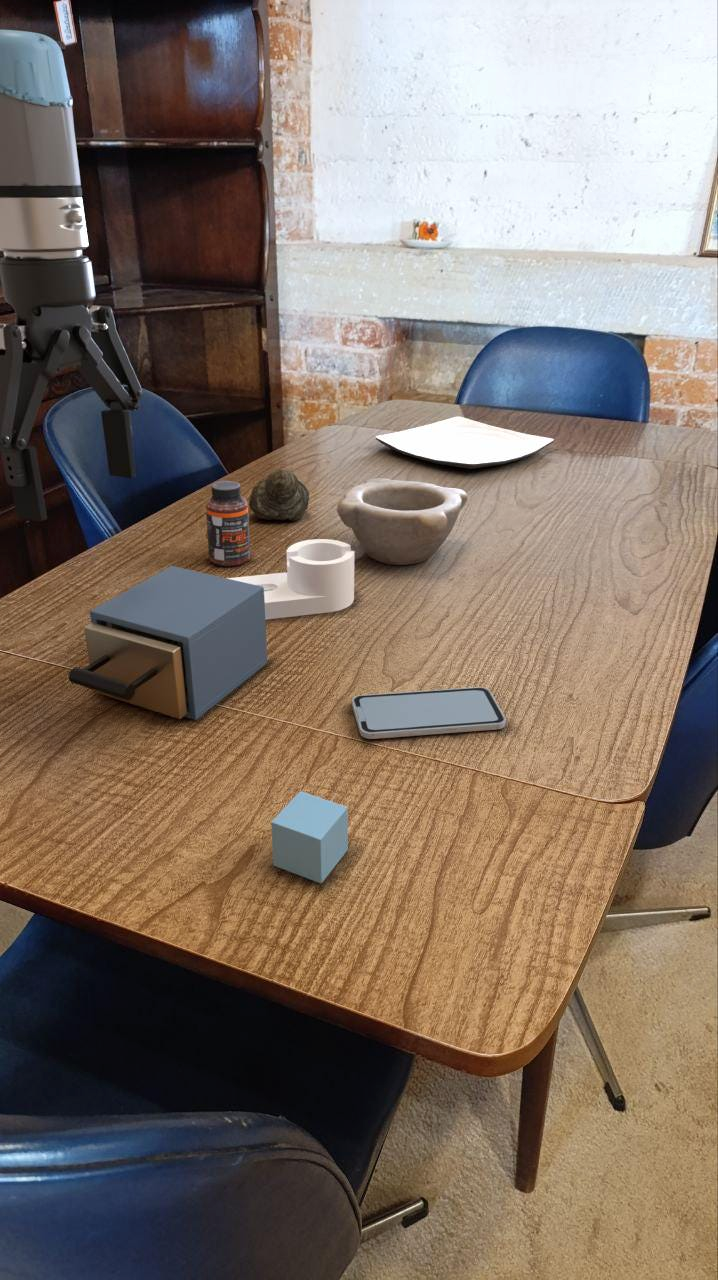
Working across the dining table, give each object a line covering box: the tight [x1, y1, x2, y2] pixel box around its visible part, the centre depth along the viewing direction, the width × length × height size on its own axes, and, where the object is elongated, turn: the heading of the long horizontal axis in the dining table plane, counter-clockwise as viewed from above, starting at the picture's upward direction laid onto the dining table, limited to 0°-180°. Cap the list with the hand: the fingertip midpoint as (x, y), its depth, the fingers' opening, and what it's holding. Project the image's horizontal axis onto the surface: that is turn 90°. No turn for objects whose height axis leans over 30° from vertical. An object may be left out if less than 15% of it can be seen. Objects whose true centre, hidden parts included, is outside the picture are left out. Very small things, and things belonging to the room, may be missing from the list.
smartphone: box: [351, 686, 507, 740], centre depth 90 cm, size 7×1×15 cm
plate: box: [375, 416, 555, 469], centre depth 178 cm, size 29×29×3 cm
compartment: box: [89, 565, 268, 721], centre depth 95 cm, size 14×13×10 cm
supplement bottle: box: [205, 480, 251, 567], centre depth 125 cm, size 6×6×11 cm
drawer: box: [68, 622, 188, 720], centre depth 92 cm, size 18×11×8 cm, turn 153°
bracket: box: [226, 538, 355, 621], centre depth 113 cm, size 20×9×7 cm, turn 105°
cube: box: [270, 790, 349, 884], centre depth 71 cm, size 4×4×4 cm
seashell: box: [248, 469, 310, 522], centre depth 142 cm, size 11×12×10 cm
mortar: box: [336, 477, 469, 566], centre depth 128 cm, size 17×17×9 cm
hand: (80, 496), depth 84 cm, fingers open, 13 cm apart
